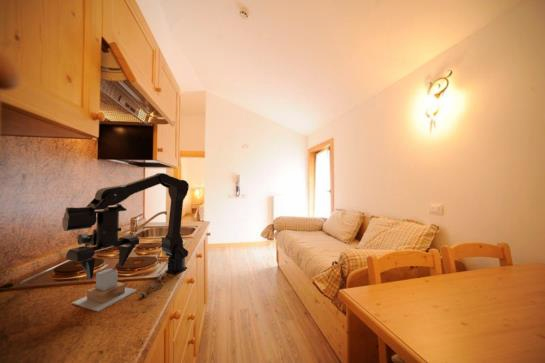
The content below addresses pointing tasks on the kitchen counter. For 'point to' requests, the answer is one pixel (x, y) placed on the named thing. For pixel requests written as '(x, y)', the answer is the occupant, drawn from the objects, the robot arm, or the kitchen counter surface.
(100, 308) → the build mat
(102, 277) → the grey block
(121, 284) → the plinth
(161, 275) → the wooden post with brackets
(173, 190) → the robot arm
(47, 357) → the kitchen counter surface
